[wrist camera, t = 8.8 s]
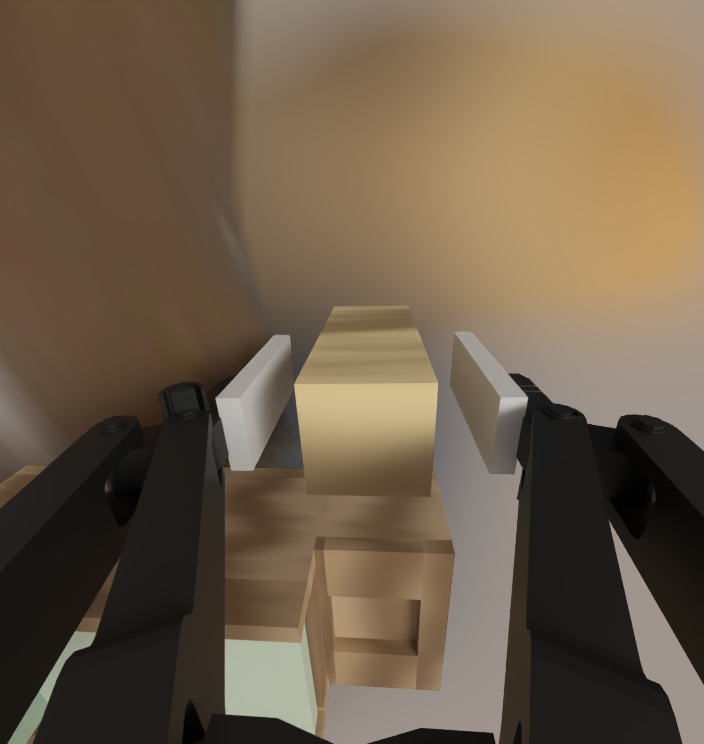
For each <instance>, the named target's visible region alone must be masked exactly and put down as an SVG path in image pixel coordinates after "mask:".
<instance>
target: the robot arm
mask: <svg viewBox="0 0 704 744" xmlns="http://www.w3.org/2000/svg"><path fill="white" fill-rule="evenodd" d="M294 383H295V377H294V368H293V360H292V350H291V341H290V335H274V336H273V337H272V338H271V339H270V340H269V341H268V342H267V343H266V345H265V346H264V347H263V348H262V349H261V350H260V351H259V352H258V353H257V354H256V355H255V356H254V357H253V359H252V360H251V361H250V362H249V363H248V364H247V365H246V366H245V367H244V368H243V369H242V370H241V371H240V373H239V374H238V375H237V376H236V377H228V378H226V379H225V380H223V381H221V382H219V383H218V384H217V385H216V386H215V387H214V388H213V390H211V391H210V392H209V393H208V395H206V391H205V387H204V385H203V384H202V383H199V382H184V383H179V384H175V385H172V386H170V387H167V388H165V389H164V390H162V391H161V392H160V393H159V394H158V396H159V400H160V403H161V407H162V410H163V414H164V417H165V419H164V423H163V425H158V426H151V427H145V428H141V427H140V424H139V421H138V419H137V417H134V416H115V417H112V418H108V419H105V420H104V421H102V422H100V423H98V424H96V425H95V426H93V427H92V428H90V429H89V430H88V431H87V432H86V433H85V434H84V435H82V436H81V437H80V438H79V439H78V440H77V441H76V442H75V443H73V444H72V445H71V446H70V447H69V448H68V449H67V450H66V451H64V452H63V453H62V454H61V455H60V456H59V457H58V458H57V459H55V460H54V461H53V462H52V463H51V464H50V465H49V466H47V467H46V468H45V469H44V470H43V471H42V472H41V473H40V474H38V475H37V476H36V477H35V478H34V479H33V480H32V481H31V482H29V483H28V484H27V485H26V486H25V487H24V488H23V489H21V490H20V491H19V492H18V493H17V494H16V495H15V496H14V497H12V498H11V499H10V500H9V501H8V502H7V503H6V504H5V505H3V506H2V507H1V508H0V744H8V742H9V740H10V739H11V737H12V735H13V734H14V732H15V730H16V729H17V727H18V725H19V724H20V722H21V721H22V719H23V717H24V716H25V714H26V712H27V711H28V709H29V707H30V706H31V704H32V702H33V701H34V699H35V697H36V696H37V694H38V692H39V691H40V689H41V687H42V686H43V684H44V682H45V681H46V679H47V677H48V676H49V674H50V672H51V671H52V669H53V667H54V666H55V664H56V662H57V661H58V659H59V657H60V656H61V654H62V652H63V651H64V649H65V647H66V646H67V644H68V642H69V641H70V639H71V637H72V636H73V634H74V632H75V631H76V629H77V627H78V626H79V624H80V622H81V621H82V619H83V617H84V616H85V614H86V612H87V611H88V609H89V607H90V606H91V604H92V603H93V601H94V599H95V598H96V596H97V594H98V593H99V591H100V589H101V588H102V586H103V584H104V583H105V581H106V579H107V578H108V576H109V574H110V573H111V571H112V569H113V568H114V566H115V564H116V563H117V561H118V559H119V558H120V560H119V563H118V566H117V570H116V573H115V576H114V579H113V582H112V585H111V588H110V592H109V595H108V598H107V601H106V604H105V607H104V610H103V613H102V617H101V620H100V623H99V626H98V629H97V632H96V635H95V638H94V640H93V642H92V644H91V645H90V646H89V647H86V648H83V649H80V650H77V651H74V652H73V653H72V654H71V656H70V657H69V658H68V659H67V660H66V661H65V663H64V665H63V667H62V669H61V671H60V673H59V675H58V677H57V680H56V682H55V685H54V688H53V690H52V693H51V696H50V698H49V701H48V704H47V706H46V709H45V712H44V714H43V717H42V720H41V722H40V725H39V728H38V730H37V733H36V736H35V738H34V741H33V744H333V743H331V742H329V741H327V740H324V739H322V738H320V737H318V736H316V735H314V734H311V733H309V732H307V731H305V730H303V729H301V728H298V727H296V726H294V725H292V724H290V723H288V722H285V721H283V720H281V719H279V718H271V717H256V716H242V715H228V714H226V712H225V474H224V470H223V463H224V462H225V460H226V459H227V457H228V458H229V463H230V468H231V470H233V471H253V470H254V468H255V466H256V464H257V462H258V460H259V458H260V456H261V454H262V452H263V450H264V448H265V446H266V444H267V442H268V440H269V438H270V436H271V434H272V432H273V430H274V428H275V426H276V424H277V422H278V420H279V418H280V416H281V414H282V412H283V410H284V408H285V406H286V404H287V402H288V400H289V398H290V396H291V394H292V392H293V390H294V389H295V388H294ZM450 387H451V389H452V391H453V393H454V395H455V398H456V400H457V402H458V404H459V407H460V409H461V411H462V413H463V416H464V418H465V420H466V422H467V424H468V427H469V429H470V431H471V433H472V435H473V438H474V440H475V442H476V444H477V447H478V449H479V451H480V453H481V456H482V458H483V460H484V462H485V464H486V467H487V469H488V471H489V473H490V474H514V473H515V468H516V462H517V459H518V461H519V462H520V464H521V466H522V467H523V470H522V475H521V481H520V485H519V491H518V496H517V499H518V500H519V506H518V520H517V532H516V545H515V558H514V570H513V583H512V596H511V609H510V621H509V635H508V648H507V661H506V674H505V685H504V698H503V711H502V723H501V732H500V739H499V744H682V740H681V737H680V733H679V729H678V725H677V722H676V718H675V715H674V712H673V710H672V707H671V704H670V701H669V698H668V696H667V694H666V693H665V691H664V690H663V688H662V687H661V685H660V684H658V683H656V682H653V681H651V680H649V679H647V678H646V676H645V674H644V672H643V669H642V666H641V663H640V659H639V654H638V649H637V645H636V641H635V636H634V631H633V627H632V622H631V618H630V613H629V609H628V604H627V600H626V595H625V591H624V586H623V582H622V578H621V573H620V568H619V564H618V559H617V555H616V551H615V546H614V542H613V537H612V533H611V528H610V524H609V521H610V522H611V524H612V526H613V528H614V529H615V531H616V533H617V535H618V536H619V538H620V540H621V542H622V543H623V545H624V547H625V548H626V550H627V552H628V554H629V556H630V557H631V559H632V560H633V562H634V564H635V566H636V568H637V569H638V571H639V573H640V575H641V576H642V578H643V580H644V582H645V583H646V585H647V587H648V589H649V590H650V592H651V594H652V595H653V597H654V599H655V601H656V602H657V604H658V606H659V608H660V609H661V611H662V613H663V614H664V616H665V618H666V620H667V621H668V623H669V625H670V627H671V629H672V630H673V632H674V634H675V635H676V637H677V639H678V641H679V643H680V644H681V646H682V648H683V649H684V651H685V653H686V655H687V657H688V658H689V660H690V662H691V663H692V665H693V667H694V669H695V670H696V672H697V674H698V676H699V677H700V679H701V680H702V683H703V684H704V451H703V450H702V449H701V448H699V447H698V446H697V445H696V444H695V443H694V442H693V441H691V440H690V439H689V438H688V437H687V436H685V435H684V434H683V433H682V432H681V431H680V430H678V429H677V428H676V427H674V426H673V425H671V424H669V423H667V422H665V421H662V420H661V419H659V418H656V417H652V416H647V415H625V416H621V417H620V419H619V421H618V424H617V427H616V428H610V427H603V426H597V425H592V424H587V421H586V418H585V416H584V415H583V414H582V413H581V412H579V411H578V410H576V409H574V408H571V407H569V406H565V405H561V404H554V403H552V402H551V401H550V399H549V398H548V397H547V396H546V395H544V394H543V392H541V390H540V389H539V388H538V387H536V386H535V384H534V383H533V382H532V381H531V380H530V379H528V378H526V377H524V376H522V375H520V374H507V372H506V371H505V370H504V369H503V368H502V367H501V366H500V364H499V363H498V362H497V361H496V360H495V359H494V358H493V356H492V355H491V354H490V353H489V352H488V351H487V349H486V348H485V347H484V346H483V345H482V344H481V343H480V341H479V340H478V339H477V338H476V337H475V336H474V335H473V333H472V332H454V341H453V353H452V366H451V379H450ZM106 484H107V486H108V489H109V490H108V491H107V492H106V493H105V485H106ZM120 556H121V557H120ZM368 744H495V739H494V735H493V733H486V732H471V731H457V730H443V729H429V728H419V729H416V730H412V731H409V732H406V733H402V734H399V735H396V736H392V737H389V738H385V739H382V740H378V741H375V742H371V743H368Z"/></svg>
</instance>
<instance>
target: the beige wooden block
mask: <svg viewBox="0 0 704 744" xmlns="http://www.w3.org/2000/svg"><path fill="white" fill-rule="evenodd" d="M294 388H295V396H296V405H297V414H298V423H299V431H300V440H301V449H302V457H303V466H304V475H305V484H306V492H307V495H340V496H396V497H431V486H432V471H433V455H434V438H435V424H436V408H437V392H438V381H437V379H436V377H435V374H434V371H433V369H432V366H431V363H430V361H429V358H428V355H427V353H426V350H425V348H424V345H423V342H422V340H421V337H420V335H419V332H418V330H417V327H416V324H415V322H414V319H413V317H412V314H411V312H410V309H409V306H408V305H384V306H341V307H334V308H333V310H332V312H331V314H330V316H329V318H328V320H327V322H326V324H325V326H324V328H323V329H322V331H321V333H320V335H319V337H318V339H317V341H316V343H315V345H314V347H313V349H312V351H311V352H310V355H309V357H308V358H307V360H306V362H305V364H304V366H303V368H302V370H301V372H300V374H299V376H298V378H297V379H296V381H295V383H294Z"/></svg>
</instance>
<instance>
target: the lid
mask: <svg viewBox="0 0 704 744" xmlns="http://www.w3.org/2000/svg"><path fill="white" fill-rule="evenodd" d="M95 635H96V632H78V631H75V632H74V634H73V636H72V637H71V639H70V641H69V642H68V644H67V646H66V647H65V649H64V651H63V652H62V654H61V656H60V657H59V659H58V661H57V662H56V664H55V666H54V667H53V669H52V671H51V672H50V674H49V676H48V677H47V679H46V681H45V682H44V684H43V686H42V687H41V689H40V691H39V692H38V694H37V696H36V697H35V699H34V701H33V702H32V704H31V706H30V707H29V709H28V711H27V712H26V714H25V716H24V717H23V719H22V721H21V722H20V724H19V725H18V727H17V729H16V730H15V732H14V734H13V735H12V737H11V739H10V740H9V742H8V744H26V743H27V741H28V740H29V738H30V737H31V735H32V734H33V732H34V731H35V729H36V728H37V726H38V725H39V723H40V722H41V720H42V717H43V714H44V712H45V709H46V706H47V704H48V701H49V698H50V696H51V693H52V690H53V688H54V685H55V682H56V680H57V677H58V675H59V673H60V671H61V669H62V667H63V665H64V663H65V661H66V660H67V659H68V658H69V657H70V656H71V654H72V653H73V652H74V651H77V650H80V649H83V648H86V647H89V646H90V645H91V644H92V642H93V640H94V638H95ZM225 712H226V714H228V715H242V716H256V717H271V718H279V719H281V720H283V721H285V722H288V723H290V724H292V725H294V726H296V727H298V728H301V729H303V730H305V731H307V732H309V733H311V734H314V735H315V731H316V723H317V714H318V711H317V704H316V697H315V690H314V683H313V676H312V669H311V663H310V656H309V649H308V642H307V635H306V628H305V622H304V627H303V633H302V638H301V643H289V642H270V641H250V640H231V639H225Z"/></svg>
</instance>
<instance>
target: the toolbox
mask: <svg viewBox="0 0 704 744" xmlns="http://www.w3.org/2000/svg"><path fill="white" fill-rule="evenodd" d="M47 466H49V465H26V466H25V467H24V468H22V469H21V470H19V471H18V472H16V473H15V474H13V475H12V476H10V477H9V478H8V479H6V480H5V481H3V482H2V483H0V508H1V507H2V506H3V505H5V504H6V503H7V502H8V501H9V500H10V499H11V498H12V497H14V496H15V495H16V494H17V493H18V492H19V491H20V490H21V489H23V488H24V487H25V486H26V485H27V484H28V483H29V482H31V481H32V480H33V479H34V478H35V477H36V476H37V475H38V474H40V473H41V472H42V471H43V470H44V469H45V468H46V467H47ZM223 470H224V474H225V639H231V640H250V641H270V642H289V643H301V638H302V633H303V627H304V622H305V628H306V635H307V642H308V649H309V656H310V663H311V669H312V676H313V683H314V690H315V697H316V704H317V711H318V714H317V723H316V731H315V735H316V736H318V737H320V738H322V739H323V736H324V726H325V717H326V707H327V698H328V689H329V684H340V685H354V686H370V687H371V686H372V687H387V688H403V689H404V688H405V689H421V690H437V691H440V686H441V676H442V667H443V658H444V649H445V639H446V630H447V621H448V612H449V602H450V594H451V584H452V575H453V565H454V557H455V553H454V549H453V544H452V540H451V536H450V532H449V527H448V523H447V519H446V514H445V510H444V506H443V501H442V497H441V493H440V489H439V484H438V481H437V476H436V472H435V470H433V471H432V486H431V497H396V496H340V495H307V492H306V484H305V475H304V468H254V470H253V471H233V470H231V468H230V467H223ZM108 490H109V489H108V486H107V484H106V485H105V493H106V492H107V491H108ZM120 557H121V556H120ZM119 560H120V558H119V559H118V561H117V563H116V564H115V566H114V568H113V569H112V571H111V573H110V574H109V576H108V578H107V579H106V581H105V583H104V584H103V586H102V588H101V589H100V591H99V593H98V594H97V596H96V598H95V599H94V601H93V603H92V604H91V606H90V607H89V609H88V611H87V612H86V614H85V616H84V617H83V619H82V621H81V622H80V624H79V626H78V627H77V629H76V631H78V632H97V629H98V626H99V623H100V620H101V617H102V613H103V610H104V607H105V604H106V601H107V598H108V595H109V592H110V588H111V585H112V582H113V579H114V576H115V573H116V570H117V566H118V563H119ZM39 725H40V723H39ZM39 725H38V726H37V728H36V729H35V731H34V732H33V734H32V735H31V737H30V738H29V740H28V741H27V743H26V744H33V741H34V738H35V736H36V733H37V730H38V728H39Z"/></svg>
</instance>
